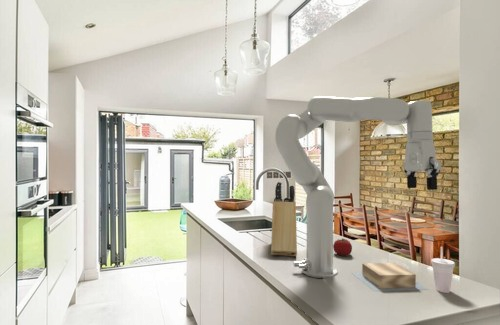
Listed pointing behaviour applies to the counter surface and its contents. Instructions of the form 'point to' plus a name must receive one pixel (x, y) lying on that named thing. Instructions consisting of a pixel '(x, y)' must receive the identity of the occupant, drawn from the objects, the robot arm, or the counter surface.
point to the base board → (376, 288)
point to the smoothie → (442, 273)
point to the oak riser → (388, 275)
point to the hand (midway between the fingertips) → (421, 188)
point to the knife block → (284, 224)
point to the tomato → (342, 247)
